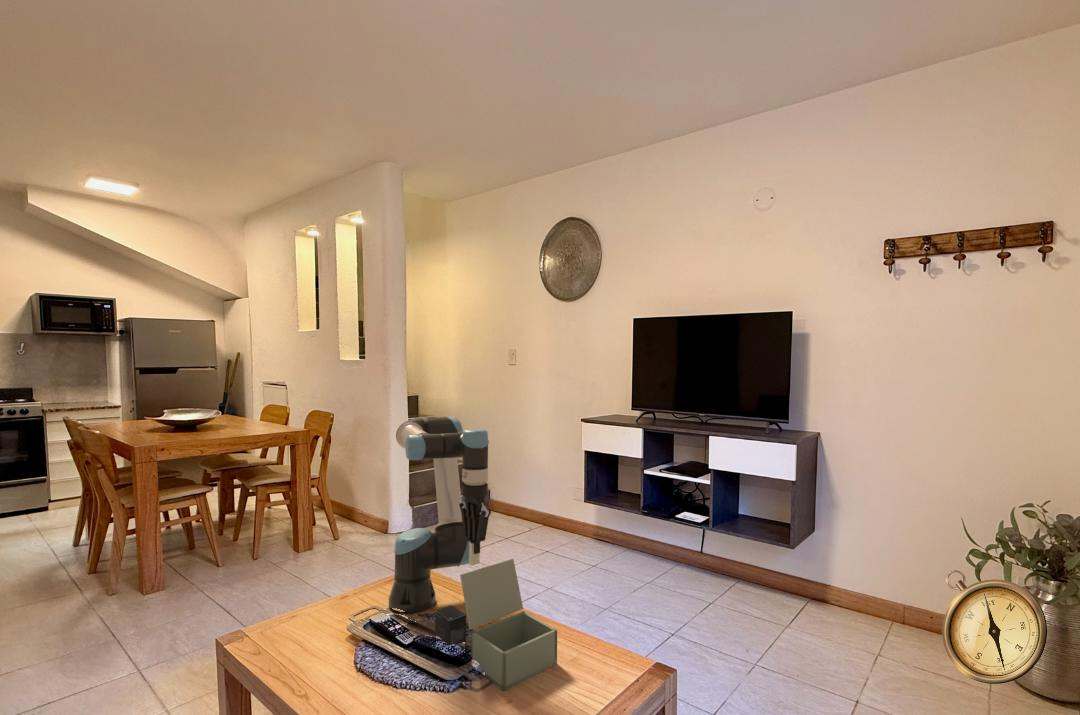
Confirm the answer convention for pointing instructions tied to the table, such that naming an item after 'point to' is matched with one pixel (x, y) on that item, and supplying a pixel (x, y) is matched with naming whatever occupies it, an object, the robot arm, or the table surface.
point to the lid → (491, 593)
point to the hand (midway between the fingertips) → (474, 563)
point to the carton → (514, 649)
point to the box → (450, 625)
